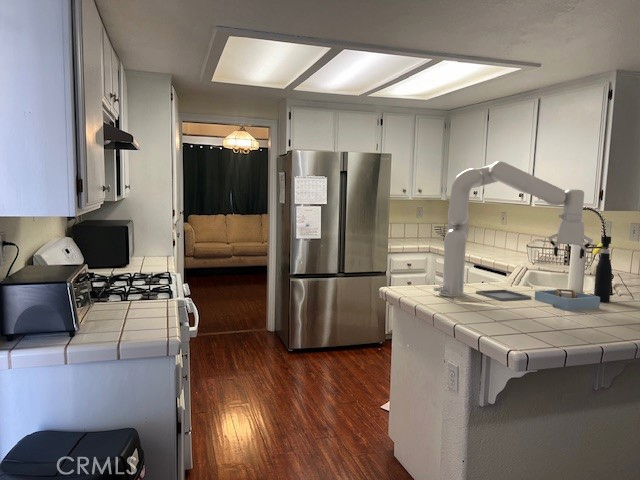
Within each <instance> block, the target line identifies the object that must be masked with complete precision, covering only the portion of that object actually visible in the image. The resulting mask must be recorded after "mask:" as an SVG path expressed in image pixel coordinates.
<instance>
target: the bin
mask: <svg viewBox="0 0 640 480" xmlns="http://www.w3.org/2000/svg"><path fill="white" fill-rule="evenodd" d="M575 292H576V294H577V298H571V299H568V298H564V297H559V296H556V289H546V290H545V289H544V290H543V289H542V290H535V291H534V301H538V302H541V303H545V304H549V305H552V308H555V309H560V310H563V311H567V312H569V311H570V312H571V311H584V310H585V311H587V310H594V309H595V310H596V309H600V305H601V302H600V297H598V296H594V294H593V295H592V294H588V293H584V292H579V291H575Z"/></svg>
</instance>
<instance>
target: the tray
mask: <svg viewBox="0 0 640 480" xmlns="http://www.w3.org/2000/svg"><path fill="white" fill-rule="evenodd" d="M475 295H480V296H483V297H486V298H490V299H493V300H497V301H501V302H507V301H523V300H525V301H526V300H532V296H530V295H526V294H524V293H520V292H516V291H512V290H507V289H491V290H490V289H489V290H476V291H475Z"/></svg>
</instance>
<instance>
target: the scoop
mask: <svg viewBox="0 0 640 480" xmlns="http://www.w3.org/2000/svg"><path fill="white" fill-rule="evenodd" d="M555 290H556V296H559V297H560V296H561V291H567V292H571V293H572V298H577V294H576V292H577V291H575V290H574V289H563V288H556V289H555Z"/></svg>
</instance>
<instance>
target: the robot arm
mask: <svg viewBox="0 0 640 480" xmlns="http://www.w3.org/2000/svg"><path fill="white" fill-rule="evenodd" d="M498 182H499V183H501V184H504V185H506V186H508V187H510V188H512V189H514V190H516V191H518V192H520V193H524V194H528V195H531V196H533V197H535V198H538V199H539V200H542V201H544V202H545V203H546V204H547V205H549V206H554V207H555V206H563V208H562V209H563V210H562V214H558V219H562V220H559V225H558V227H557V228H558V230H557V233H555V234H551V235H549V236H548V237H547V238H548V239H547V240H549V243H550V244H551V245H552V246H553V255H554V256H555V258H557V257H558V253H559V247H558V246H560V245H561V244H562V245H574V246H580V250H579V259H583V258H584V257H585V250H586V249H588V248H589V247H590V245H592V243H593V241H594V240H593V239H592V238H590V237H588V236H587V235H585V223H584V221H583V211H584V200H585V191H584V190H583V189H573V188H572V189H571V188H570V189H562V188H561V187H558V186H556V185H554V184H552V183H549V182H547V181H546V180H543V179H541V178H539V177H536V176H535V175H534V174H533V175H532V174H530V173H528V172H526V171H524V170H522V169H520V168H519V167H518V168H517V167H516V166H513V165H511V164H509V163H507V162H506V161H505V162H504V161H501V160H498V161H495V162H494V163H492V164H489V165H487V166H483V167H479V168H475V167H471V168H468V169H466V170H464V171H461V173H459V174H458V175H456V177H455V178H454V181H453V183H452V185H451V189H450V196H449V202H448V203H449V204H448V212H447V231H446V233H445V236H444V239H443V240H444V244H443V247H444V248H443V251H444V252H443V271H442V272H443V273H442V284H440V286H434V287H433V291H434V292H438V294H439V295H440V296H443V297H449V298H456V297H458V296H460V297H461V296H462V297H463V296H467V293H466V292H464V287H465V286H464V283H465V267H466V248H467V247H466V245H467V239H468V230H469V222H470V221H469V220H470V213H469V212H470V211H469V201H470V195H471V190H472V188H474V189H475V188H480V187H482V186H486V185H490V184H494V183H498ZM555 238H556V242H554V240H553V239H555ZM584 241H587V242H586V243H585V244H584Z"/></svg>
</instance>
